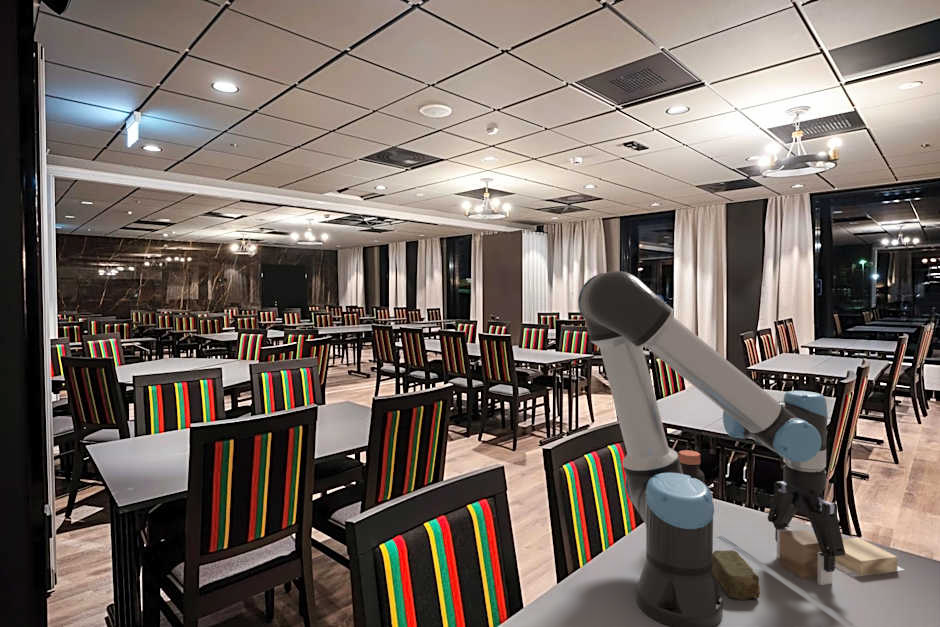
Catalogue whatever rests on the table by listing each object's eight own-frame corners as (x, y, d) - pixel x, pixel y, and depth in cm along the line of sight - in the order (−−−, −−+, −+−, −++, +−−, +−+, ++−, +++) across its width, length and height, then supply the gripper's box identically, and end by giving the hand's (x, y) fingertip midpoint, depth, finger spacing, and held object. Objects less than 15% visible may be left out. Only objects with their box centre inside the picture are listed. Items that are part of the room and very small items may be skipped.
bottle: (708, 533, 131) (709, 453, 130) (696, 542, 126) (697, 459, 125) (681, 525, 136) (682, 447, 135) (669, 533, 131) (669, 452, 130)
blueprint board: (852, 581, 109) (852, 576, 108) (815, 560, 117) (815, 555, 117) (905, 574, 111) (905, 569, 111) (865, 554, 120) (865, 549, 120)
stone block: (735, 571, 113) (735, 548, 113) (761, 603, 102) (762, 577, 101) (707, 570, 113) (707, 547, 113) (730, 602, 102) (731, 576, 102)
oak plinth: (860, 575, 109) (861, 561, 109) (823, 554, 118) (823, 541, 118) (897, 571, 111) (897, 556, 111) (857, 550, 119) (858, 537, 119)
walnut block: (802, 583, 108) (802, 544, 108) (779, 568, 114) (780, 531, 114) (827, 580, 109) (827, 542, 109) (803, 565, 115) (804, 529, 115)
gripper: (870, 483, 100) (868, 599, 101) (778, 449, 123) (777, 544, 123) (836, 486, 99) (834, 604, 100) (750, 451, 121) (749, 548, 122)
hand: (803, 571), depth 111 cm, fingers open, 10 cm apart
